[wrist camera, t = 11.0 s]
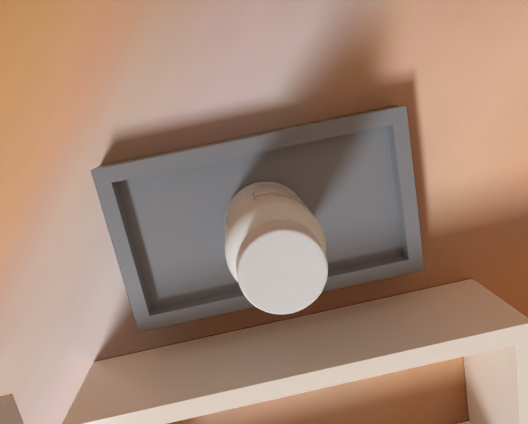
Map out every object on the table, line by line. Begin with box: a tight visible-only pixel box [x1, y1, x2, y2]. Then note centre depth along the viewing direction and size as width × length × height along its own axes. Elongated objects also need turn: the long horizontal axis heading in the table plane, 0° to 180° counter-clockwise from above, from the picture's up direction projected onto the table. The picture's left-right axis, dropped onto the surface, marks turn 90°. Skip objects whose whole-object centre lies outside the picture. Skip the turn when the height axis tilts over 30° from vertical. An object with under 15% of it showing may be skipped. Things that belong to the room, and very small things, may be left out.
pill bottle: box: [225, 182, 328, 314], centre depth 20 cm, size 4×4×8 cm
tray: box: [91, 106, 425, 332], centre depth 24 cm, size 16×9×2 cm, turn 101°
